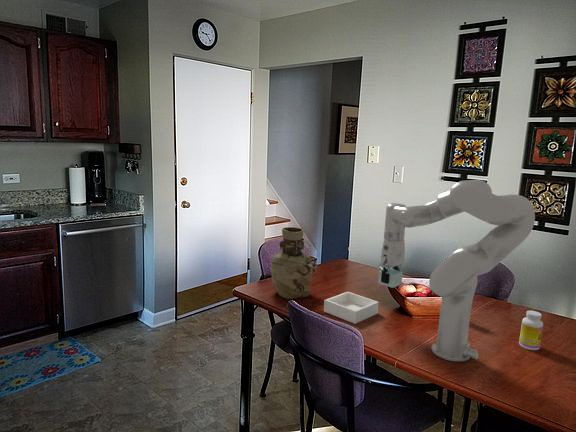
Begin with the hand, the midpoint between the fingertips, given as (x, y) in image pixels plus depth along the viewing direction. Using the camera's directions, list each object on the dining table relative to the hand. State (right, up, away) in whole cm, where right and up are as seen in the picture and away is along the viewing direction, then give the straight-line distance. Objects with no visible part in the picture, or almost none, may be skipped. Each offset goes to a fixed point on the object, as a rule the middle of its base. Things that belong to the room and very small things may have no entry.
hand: (390, 280), depth 168 cm
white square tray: (-13, -15, +13) cm, 24 cm away
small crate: (0, -1, 0) cm, 1 cm away
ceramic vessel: (-38, -11, +33) cm, 51 cm away
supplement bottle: (+47, -22, -12) cm, 54 cm away
